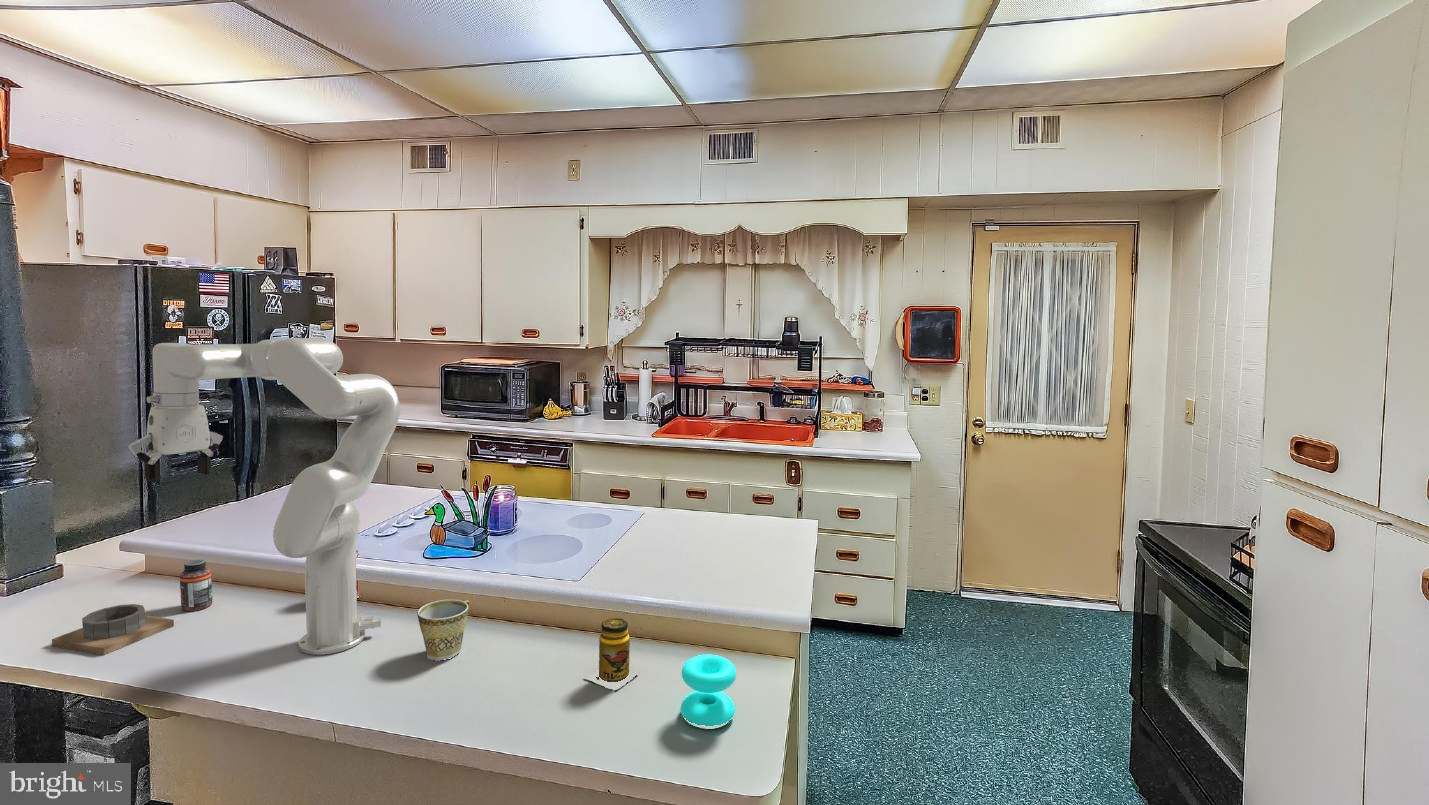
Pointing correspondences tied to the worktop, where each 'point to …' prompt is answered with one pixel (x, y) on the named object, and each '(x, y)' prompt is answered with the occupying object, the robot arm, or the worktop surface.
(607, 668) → the condiment
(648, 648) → the worktop surface
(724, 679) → the donuts
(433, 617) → the ceramic cup
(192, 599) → the supplement bottle
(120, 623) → the ring holder
